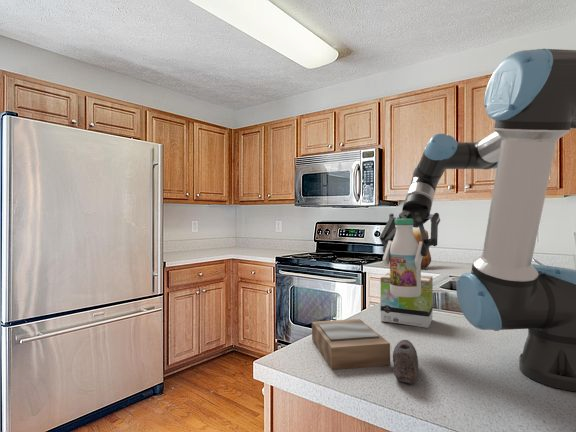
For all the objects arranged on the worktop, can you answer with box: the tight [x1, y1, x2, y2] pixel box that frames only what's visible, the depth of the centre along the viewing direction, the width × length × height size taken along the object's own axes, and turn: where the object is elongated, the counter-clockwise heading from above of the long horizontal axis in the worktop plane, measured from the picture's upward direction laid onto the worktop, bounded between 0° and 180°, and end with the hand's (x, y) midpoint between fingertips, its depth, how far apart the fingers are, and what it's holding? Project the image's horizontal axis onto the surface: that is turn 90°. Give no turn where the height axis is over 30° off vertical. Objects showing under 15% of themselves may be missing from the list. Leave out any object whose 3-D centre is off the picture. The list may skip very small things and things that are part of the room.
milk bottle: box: [389, 219, 422, 297], centre depth 94 cm, size 8×8×20 cm
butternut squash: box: [413, 228, 432, 269], centre depth 227 cm, size 14×13×25 cm
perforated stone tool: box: [392, 339, 419, 385], centre depth 79 cm, size 15×5×7 cm, turn 160°
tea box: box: [379, 272, 434, 329], centre depth 117 cm, size 15×10×15 cm
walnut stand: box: [311, 318, 391, 371], centre depth 92 cm, size 20×14×5 cm
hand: (400, 263), depth 92 cm, fingers closed on milk bottle, 7 cm apart
